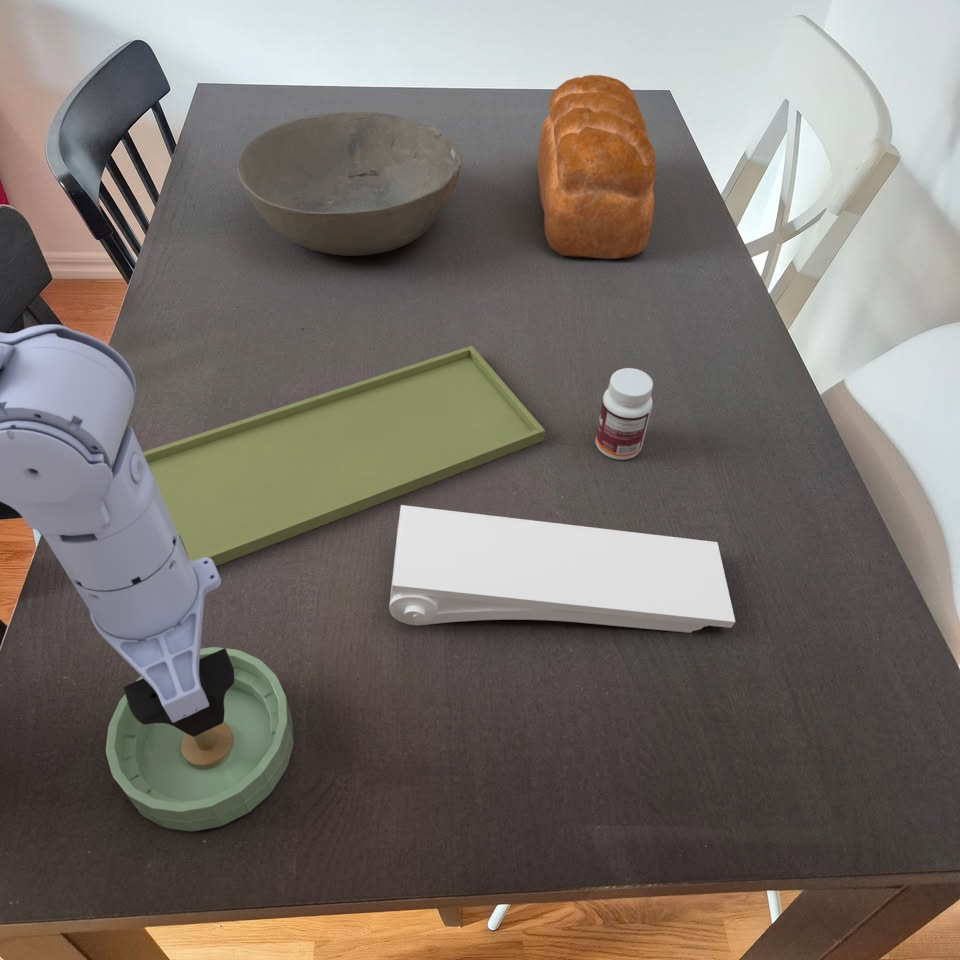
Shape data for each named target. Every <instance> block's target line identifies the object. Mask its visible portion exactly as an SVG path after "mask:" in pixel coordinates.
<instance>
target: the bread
mask: <svg viewBox="0 0 960 960" xmlns="http://www.w3.org/2000/svg"><path fill="white" fill-rule="evenodd" d="M548 114H549V115H547V117H546V118H545V120H544V121H542V125H541V130H540V136H539V140H538V141H539V142H538V149H537V160H536V168H537V175H538V188H539V190H538V191H539V199H540V205H541V208H542V210H543V214H544V217H543V228H544V235H545V238H546V241H547V244H548V248H550V249H552V250H553V251H555V252H556V253H557V254H559V255H560V256H564V257H573V258H586V259H587V258H588V259H602V260H603V259H604V260H609V259H610V260H611V259H612V260H613V259H624V258H630V257H633V256H638V255H639V254H640V253H641V252H642V251H644V250H645V249H646V248H647V247H648V243H649V239H650V234H651V231H652V227H653V223H654V222H653V221H654V210H655V191H654V184H655V182H656V181H655V180H656V155H655V150H654V147H653V145H652V144H651V142H650V139H649V136H648V135H649V134H648V132H647V128H646V123H645V119H644V117H643V115H642V112H641V109H640V107H639V104H638V102H637V100H636V98H635V94H634V92H633V90H632V89H631V88H630V87H629V86H628V85H627V84H625V83H624V81H621V80H620V79H618V78H615V77H611V76H607V75H600V74H587V75H583V76H581V77H574V78H573V77H572V78H570V79H567V80H565V81H564V82H563V83H561V84H560V85H559V86H558V87H556V88H555V89H554V90H553V91H552V92H551V95H550V98H549V102H548Z"/></svg>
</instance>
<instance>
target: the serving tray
mask: <svg viewBox="0 0 960 960" xmlns="http://www.w3.org/2000/svg"><path fill="white" fill-rule="evenodd" d="M545 435H546V430H545V428H544V427H543V426H542V425H541V424H540V423H539V421H537V419H536V418H535V417H534V416H533V414H531V412H530V411H529V410H528V408H526V406H525V404H523V403H522V402H521V401H520V400H519V398H518V397H517V396H516V395H515V393H514V392H513V391H512V390H511V389H510V388H509V387H508V385H507V384H506V383H505V382H504V381H503V380H502V379H501V377H500V376H499V375H498V374H497V373H496V371H495V370H494V369H493V368H492V367H491V366H490V364H488V362H487V361H486V360H485V359H484V358H483V356H482V355H481V353H479V352H478V350H476V348H475V347H474V345H469V346H466V347H462V348H459V349H456V350H453V351H451V352H447V353H445V354H441V355H438V356H434V357H432V358H428V359H426V360H423V361H419V362H417V363H413V364H410V365H407V366H404V367H400V368H398V369H394V370H392V371H389V372H386V373H382V374H379V375H377V376H373V377H370V378H367V379H364V380H361V381H358V382H355V383H352V384H349V385H346V386H342V387H340V388H336V389H333V390H329V391H327V392H324V393H321V394H317V395H314V396H312V397H308V398H306V399H302V400H299V401H296V402H292V403H290V404H287V405H284V406H281V407H278V408H275V409H272V410H268V411H265V412H262V413H259V414H255V415H252V416H250V417H247V418H244V419H240V420H237V421H235V422H231V423H228V424H224V425H222V426H219V427H216V428H212V429H211V430H207V431H204V432H200V433H197V434H193V435H191V436H188V437H185V438H182V439H179V440H176V441H173V442H169V443H166V444H164V445H160V446H157V447H154V448H151V449H148V450H145V451H142V452H143V454H144V456H145V459H146V461H147V463H148V465H149V467H150V469H151V472H152V474H153V476H154V479H155V481H156V483H157V486H158V488H159V490H160V493H161V495H162V497H163V499H164V502H165V504H166V506H167V509H168V511H169V513H170V516H171V518H172V520H173V522H174V525H175V528H176V530H177V532H178V534H179V535H180V537H181V539H182V542H183V544H184V547H185V549H186V552H187V554H188V558H189V560H190V561H195V560H199V559H201V558H205V557H208V558H211V559H212V560H213V562H214V564H215V567H216V568H217V567H218V566H220V565H223V564H227V563H229V562H232V561H234V560H236V559H239V558H242V557H244V556H247V555H249V554H252V553H255V552H258V551H261V550H262V549H265V548H268V547H270V546H274V545H275V544H279V543H281V542H283V541H286V540H289V539H291V538H293V537H297V536H299V535H301V534H302V535H303V534H305V533H307V532H310V531H312V530H314V529H317V528H320V527H322V526H326V525H327V524H330V523H333V522H336V521H339V520H341V519H343V518H346V517H349V516H351V515H354V514H357V513H359V512H362V511H365V510H367V509H369V508H372V507H376V506H377V505H380V504H383V503H385V502H388V501H390V500H393V499H395V498H399V497H401V496H403V495H406V494H409V493H411V492H414V491H416V490H419V489H423V488H425V487H427V486H430V485H433V484H434V483H438V482H440V481H442V480H446V479H447V478H448V479H449V478H450V477H454V476H456V475H458V474H462V473H464V472H467V471H468V470H471V469H474V468H476V467H477V468H478V467H479V466H481V465H484V464H487V463H489V462H493V461H494V460H498V459H500V458H503V457H505V456H508V455H511V454H514V453H516V452H519V451H521V450H523V449H526V448H529V447H531V446H533V445H534V446H535V445H537V444H539V443H542V442H544V441H545Z"/></svg>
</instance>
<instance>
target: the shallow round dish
mask: <svg viewBox="0 0 960 960" xmlns="http://www.w3.org/2000/svg"><path fill="white" fill-rule="evenodd" d="M224 648H226V651H227V653H228V656H229V658H230V661H231V663H232V666H233V669H234V683H233V685H232V686H231V687H230V688H229V689H228V690H227V692H226V693H225V696H224V722H225V723H226V724H227V725H228V726H229V727H230V729H231V732H232V734H233V737H234V745H233V749H232V751H231V753H230V755H229V756H228V758H227V759H226V760H225V761H224V762H223V763H221V764H220V765H218V766H216V767H214V768H211V769H197V768H194V767H192V766H191V765H189V764H188V763H187V761H186V760H185V758H184V756H183V754H182V750H181V743H182V739H183V737H184V734H185V732H183V731H181V730H179V729H178V728H176V727H174V726H172V725H170V724H165V723H153V724H147V725H144V724H142V723H140V722H139V721H138V720H137V719H136V718H135V717H134V715H133V714H132V712H131V710H130V708H129V705H128V701H127V698H126V695H125V694H124V695H123V696H122V697H121V698H120V700H119V701H118V704H117V706H116V708H115V710H114V712H113V715H112V717H111V719H110V722H109V723H108V726H107V737H106V745H105V746H106V747H105V754H106V758H107V761H108V766H109V769H110V773H111V776H112V778H113V779H114V780H115V782H116V783H117V785H118V786H119V787H120V789H121V791H122V792H123V793H124V795H125V796H126V798H127V799H128V800H129V802H130V803H131V804H132V805H133V806H134V807H135V809H136V810H137V812H138V813H139V814H140V815H141V816H142V817H143V818H145V819H148V820H149V821H151V822H153V823H155V824H157V825H158V826H160V827H162V828H165V829H170V830H177V831H185V832H198V831H203V830H209V829H214V828H215V829H216V828H220V827H223V826H225V825H227V824H229V823H231V822H233V821H236V820H238V819H240V818H241V817H243V816H245V815H248V814H249V813H251V812H252V811H253V810H254V809H255V808H256V807H257V806H258V805H259V804H261V803H262V802H263V801H264V800H265V799H267V797H268V796H269V795H271V793H272V792H273V791H274V789H275V788H276V786H277V785H278V783H279V781H280V780H281V778H282V777H283V775H284V773H285V772H286V770H288V769H287V768H288V766H289V762H290V759H291V755H292V752H293V748H294V742H295V740H294V739H295V737H294V720H293V716H292V712H291V709H290V705H289V702H288V699H287V696H286V693H285V691H284V689H283V687H282V684H281V682H280V679H279V677H278V676H277V674H276V673H274V671H273V670H272V669H271V668H270V667H269V666H268V665H266V663H264V661H262V659H259V658H257V657H255V656H253V655H251V654H248V653H246V652H244V651H242V650H240V649H235V648H227V647H217V646H211V647H205V648H200V659H201V658H203V657H206V656H208V655H210V654H212V653H215V652H217V651H219V650H222V649H224ZM140 679H143V677H142V676H141V675H140V676H139V677H138V678H137V679H136V680H135V682H136V681H138V680H140Z"/></svg>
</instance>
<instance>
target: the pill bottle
mask: <svg viewBox="0 0 960 960" xmlns="http://www.w3.org/2000/svg"><path fill="white" fill-rule="evenodd" d="M653 388H654V382H653V379H652V378H651V376H650V375H649V374H647V373H646V371H643V370H641V369H638V368H632V367H625V368H621V369H618V370H616V371H614V372H613V373H612V375H611V376H610V379H609V383H608V387H607V389H606V390H605V392H604V393H603V396H602V398H601V407H600V412H599V417H598V422H597V431H596V434H595V445H596V447H597V449H598V450H599V452H601V454H603V455H604V456H606V457H608V458H610V459H613V460H617V461H618V460H619V461H626V460H629V459H630V460H631V459H633V458H635V457H637V456H638V455H639V454H640V453H641V451H642V449H643V445H644V441H645V437H646V433H647V429H648V425H649V420H650V417H651V413H652V409H653V402H654V401H653V397H652V394H653Z"/></svg>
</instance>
